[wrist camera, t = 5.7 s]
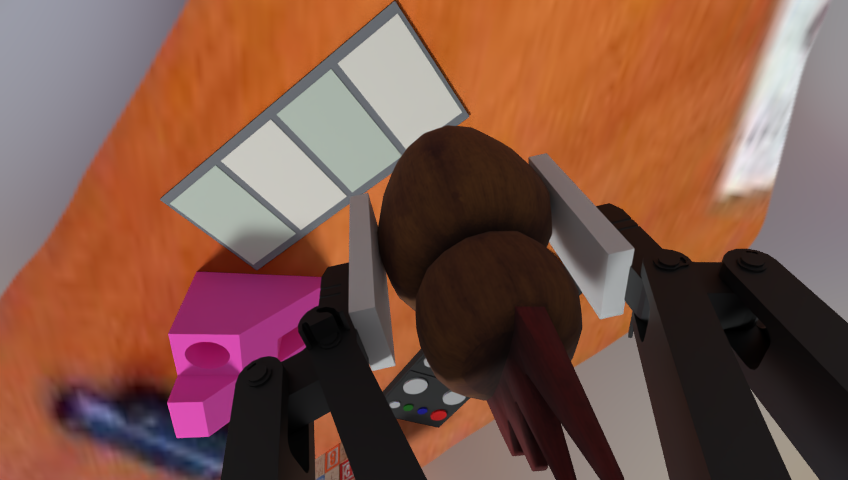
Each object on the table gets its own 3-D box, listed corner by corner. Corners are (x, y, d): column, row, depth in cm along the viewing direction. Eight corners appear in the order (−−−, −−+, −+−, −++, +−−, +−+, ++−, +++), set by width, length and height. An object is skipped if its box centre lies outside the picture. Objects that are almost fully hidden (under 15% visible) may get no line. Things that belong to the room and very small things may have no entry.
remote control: (369, 402, 55) (370, 416, 53) (515, 238, 42) (521, 250, 41) (436, 418, 60) (439, 431, 58) (585, 275, 47) (593, 287, 45)
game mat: (394, 0, 28) (395, 0, 28) (469, 115, 33) (469, 116, 33) (160, 198, 33) (159, 200, 33) (257, 269, 39) (256, 270, 39)
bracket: (208, 345, 44) (176, 437, 36) (197, 270, 38) (155, 360, 30) (323, 345, 47) (319, 432, 38) (329, 276, 41) (324, 360, 33)
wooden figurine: (421, 80, 17) (587, 410, 5) (528, 137, 19) (825, 463, 7) (356, 208, 20) (361, 603, 8) (455, 245, 22) (575, 598, 10)
